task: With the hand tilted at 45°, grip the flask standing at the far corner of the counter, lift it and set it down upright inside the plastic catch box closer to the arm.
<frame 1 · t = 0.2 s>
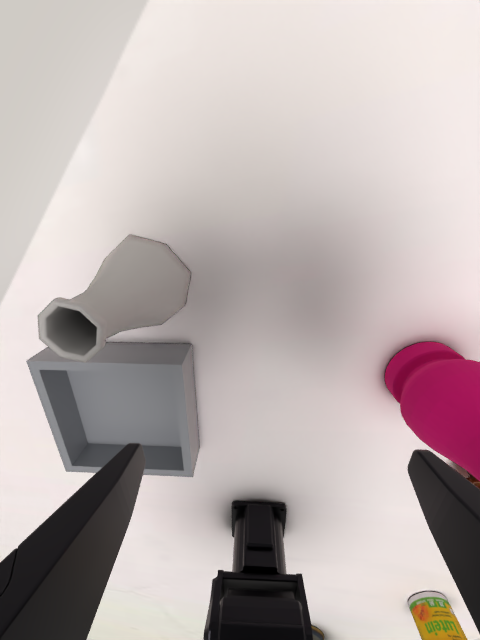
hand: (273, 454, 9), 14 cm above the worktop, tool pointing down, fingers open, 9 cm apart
pepper mill: (418, 370, 24), on the worktop
flask: (148, 281, 22), on the worktop
catch box: (133, 398, 26), on the worktop
supplement bottle: (425, 598, 38), on the worktop
apothecary jar: (294, 634, 44), on the worktop
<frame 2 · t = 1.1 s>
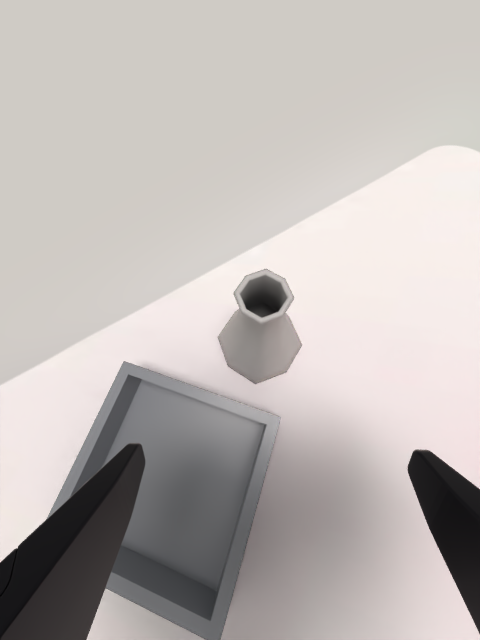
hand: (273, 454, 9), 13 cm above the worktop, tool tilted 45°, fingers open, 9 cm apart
flask: (259, 342, 24), on the worktop
catch box: (177, 469, 21), on the worktop
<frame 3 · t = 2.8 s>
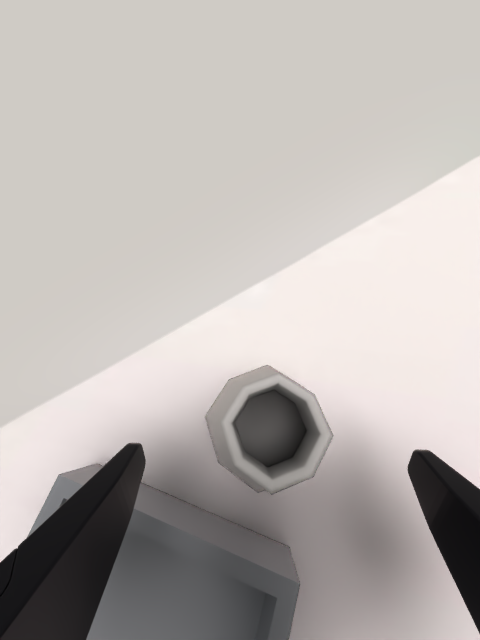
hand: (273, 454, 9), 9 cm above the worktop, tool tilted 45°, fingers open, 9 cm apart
flask: (263, 423, 17), on the worktop
catch box: (140, 637, 14), on the worktop
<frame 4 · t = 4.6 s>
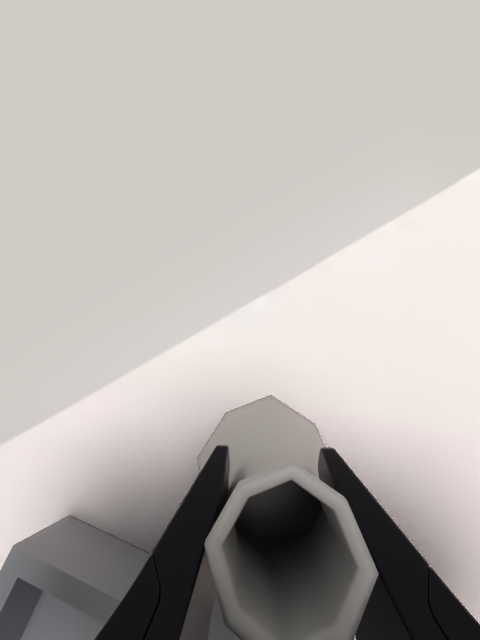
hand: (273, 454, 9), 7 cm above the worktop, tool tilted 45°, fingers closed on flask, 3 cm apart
flask: (265, 466, 15), on the worktop, touching gripper
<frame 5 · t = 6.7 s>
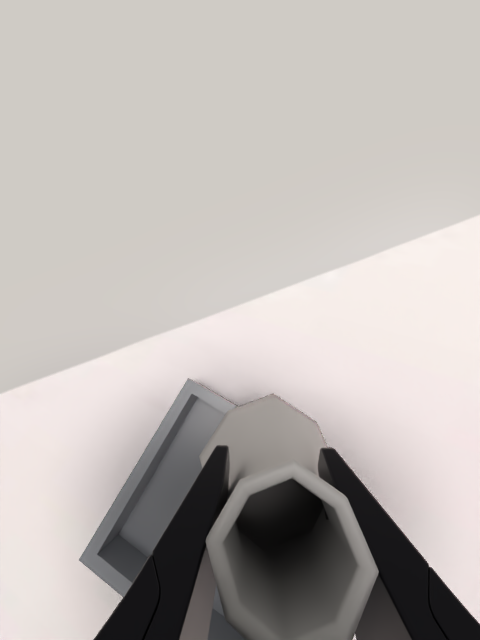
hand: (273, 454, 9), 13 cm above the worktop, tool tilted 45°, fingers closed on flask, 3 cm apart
flask: (267, 464, 15), point 6 cm above the worktop, touching gripper
catch box: (223, 497, 20), on the worktop
when the fingers open (9 cm above the worktop, at t = 8.8 s): flask drops 1 cm, resting on catch box.
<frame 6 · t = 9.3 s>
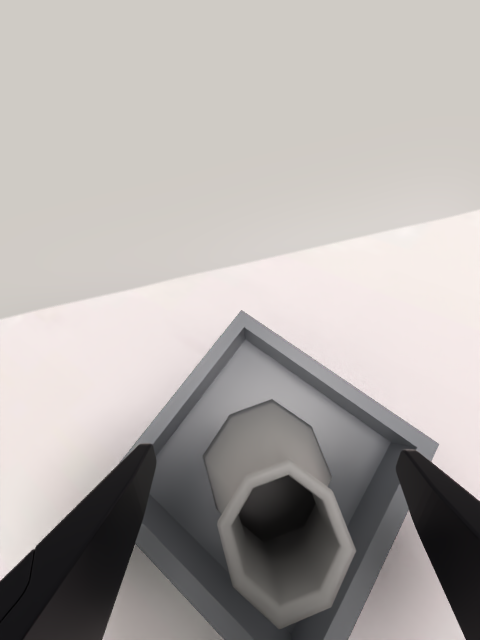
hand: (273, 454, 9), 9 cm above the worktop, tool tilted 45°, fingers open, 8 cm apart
flask: (265, 464, 16), point 1 cm above the worktop, touching catch box
catch box: (263, 459, 17), on the worktop
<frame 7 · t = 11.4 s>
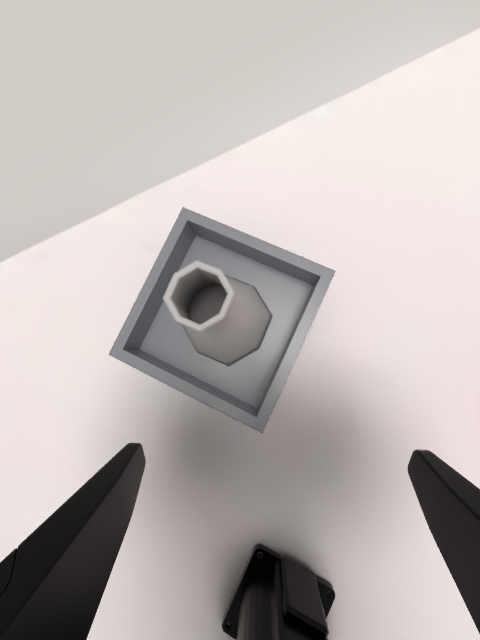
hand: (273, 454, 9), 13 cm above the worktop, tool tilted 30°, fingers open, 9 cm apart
flask: (226, 320, 22), point 1 cm above the worktop, touching catch box
catch box: (226, 318, 23), on the worktop
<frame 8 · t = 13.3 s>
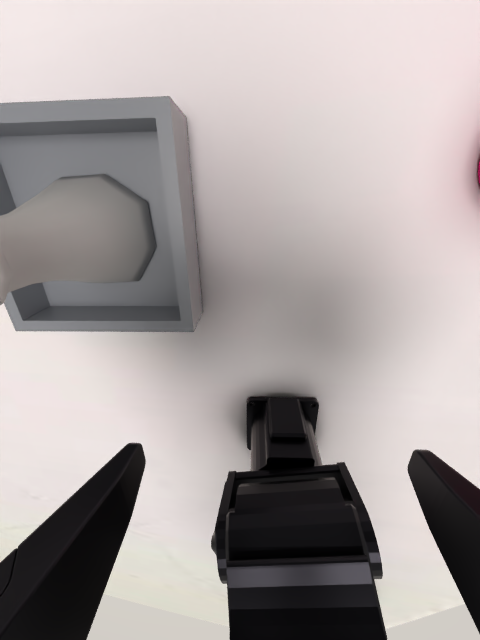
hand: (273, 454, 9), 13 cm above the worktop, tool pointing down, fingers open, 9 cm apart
flask: (106, 232, 18), point 1 cm above the worktop, touching catch box
catch box: (107, 229, 19), on the worktop
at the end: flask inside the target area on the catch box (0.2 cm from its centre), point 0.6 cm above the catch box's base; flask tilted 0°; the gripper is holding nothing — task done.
